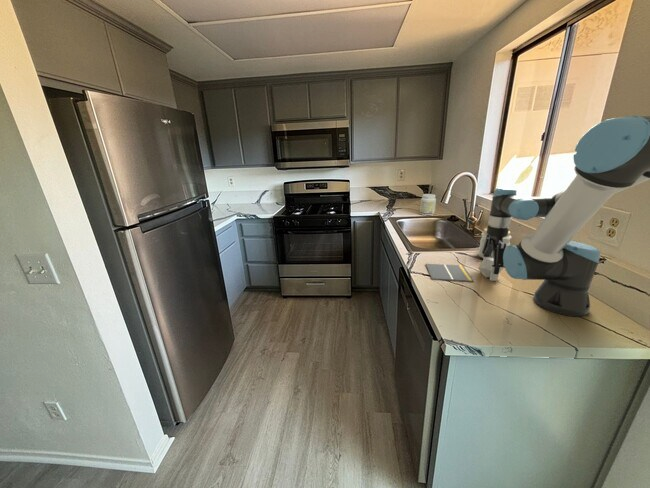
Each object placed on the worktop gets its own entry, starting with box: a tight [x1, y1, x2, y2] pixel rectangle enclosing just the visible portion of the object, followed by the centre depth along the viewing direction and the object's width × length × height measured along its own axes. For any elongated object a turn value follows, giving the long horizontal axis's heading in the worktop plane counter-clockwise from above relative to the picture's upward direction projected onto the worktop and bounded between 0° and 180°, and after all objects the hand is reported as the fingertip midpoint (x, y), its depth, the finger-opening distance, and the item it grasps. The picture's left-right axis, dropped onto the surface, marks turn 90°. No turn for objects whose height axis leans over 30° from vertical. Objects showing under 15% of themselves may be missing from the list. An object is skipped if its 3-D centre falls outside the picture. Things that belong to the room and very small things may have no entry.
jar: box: [477, 227, 513, 259], centre depth 135 cm, size 13×13×18 cm
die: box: [477, 258, 505, 278], centre depth 116 cm, size 8×9×10 cm
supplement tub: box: [419, 193, 437, 216], centre depth 226 cm, size 12×12×17 cm
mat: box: [425, 263, 475, 283], centre depth 122 cm, size 16×17×1 cm
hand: (489, 275), depth 117 cm, fingers closed on die, 9 cm apart
